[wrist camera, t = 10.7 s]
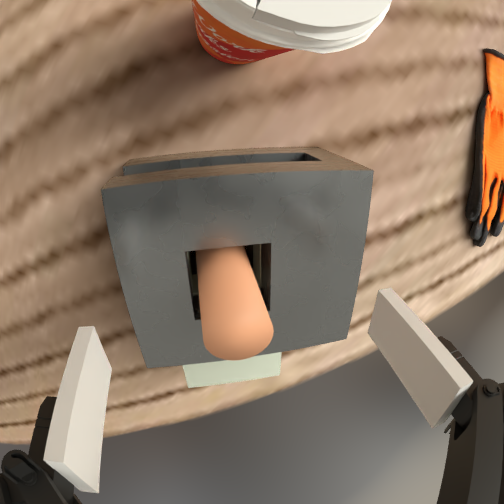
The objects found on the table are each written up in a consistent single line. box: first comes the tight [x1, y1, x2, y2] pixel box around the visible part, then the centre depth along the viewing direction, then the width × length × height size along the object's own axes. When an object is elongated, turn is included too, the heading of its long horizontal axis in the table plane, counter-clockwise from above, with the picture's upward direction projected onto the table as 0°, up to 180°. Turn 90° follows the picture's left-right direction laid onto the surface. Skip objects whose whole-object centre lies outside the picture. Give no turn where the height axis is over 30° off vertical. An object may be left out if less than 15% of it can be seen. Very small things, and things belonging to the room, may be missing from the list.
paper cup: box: [192, 0, 392, 64], centre depth 11 cm, size 8×8×14 cm
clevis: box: [101, 147, 374, 368], centre depth 21 cm, size 14×12×8 cm
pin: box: [196, 246, 274, 361], centre depth 19 cm, size 3×3×12 cm
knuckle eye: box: [182, 244, 281, 388], centre depth 24 cm, size 8×16×5 cm, turn 1°
